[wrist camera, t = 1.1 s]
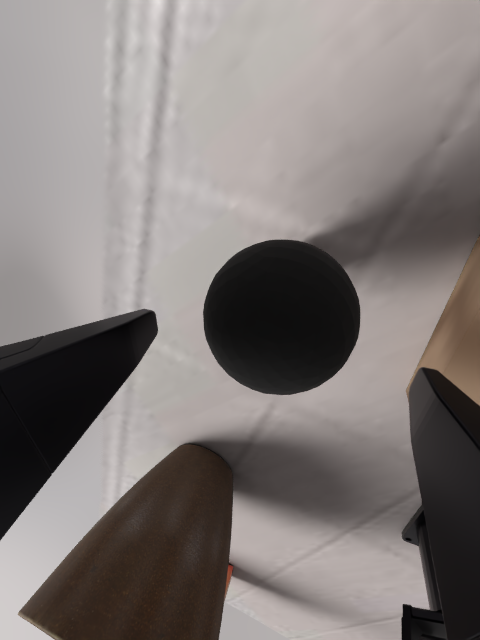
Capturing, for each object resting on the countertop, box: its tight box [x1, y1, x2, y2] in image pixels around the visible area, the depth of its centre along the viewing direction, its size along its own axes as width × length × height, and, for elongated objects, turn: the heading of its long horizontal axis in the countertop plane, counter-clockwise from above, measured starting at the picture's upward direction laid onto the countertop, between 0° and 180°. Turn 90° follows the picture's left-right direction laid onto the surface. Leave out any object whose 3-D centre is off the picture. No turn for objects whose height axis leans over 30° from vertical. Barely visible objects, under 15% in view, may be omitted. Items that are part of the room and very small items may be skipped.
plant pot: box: [18, 444, 233, 640], centre depth 26 cm, size 15×15×16 cm
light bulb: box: [203, 240, 360, 395], centre depth 12 cm, size 6×6×10 cm
